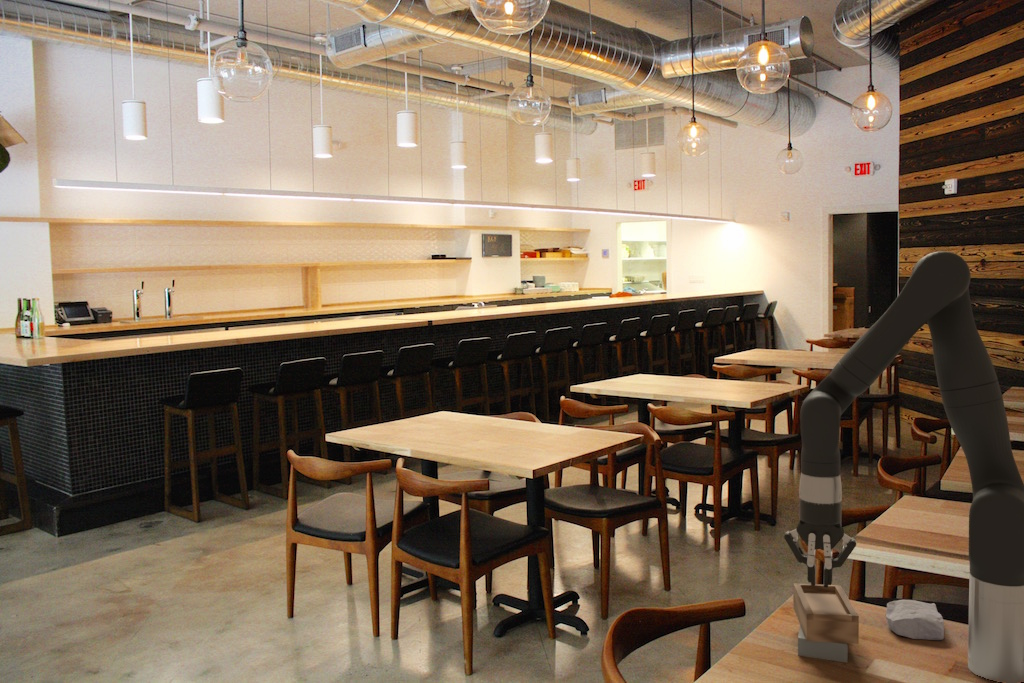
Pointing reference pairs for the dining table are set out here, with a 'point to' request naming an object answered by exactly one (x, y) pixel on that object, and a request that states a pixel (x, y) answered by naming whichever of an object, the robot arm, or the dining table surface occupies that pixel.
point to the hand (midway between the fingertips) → (819, 585)
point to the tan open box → (825, 613)
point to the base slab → (822, 649)
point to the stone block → (915, 619)
